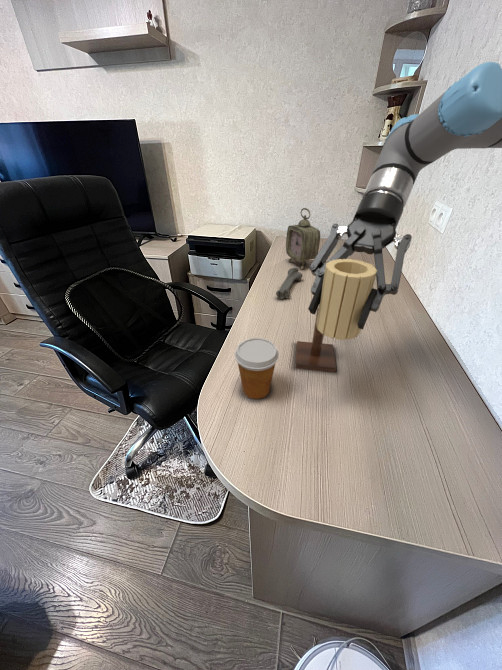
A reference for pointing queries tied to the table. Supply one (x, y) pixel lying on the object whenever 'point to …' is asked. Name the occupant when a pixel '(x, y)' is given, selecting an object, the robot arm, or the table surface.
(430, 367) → the table surface
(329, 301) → the wooden stave sleeve
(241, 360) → the disposable coffee cup
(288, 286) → the bone
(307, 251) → the tabletop clock
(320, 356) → the spindle stand
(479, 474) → the table surface
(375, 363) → the table surface
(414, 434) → the table surface
